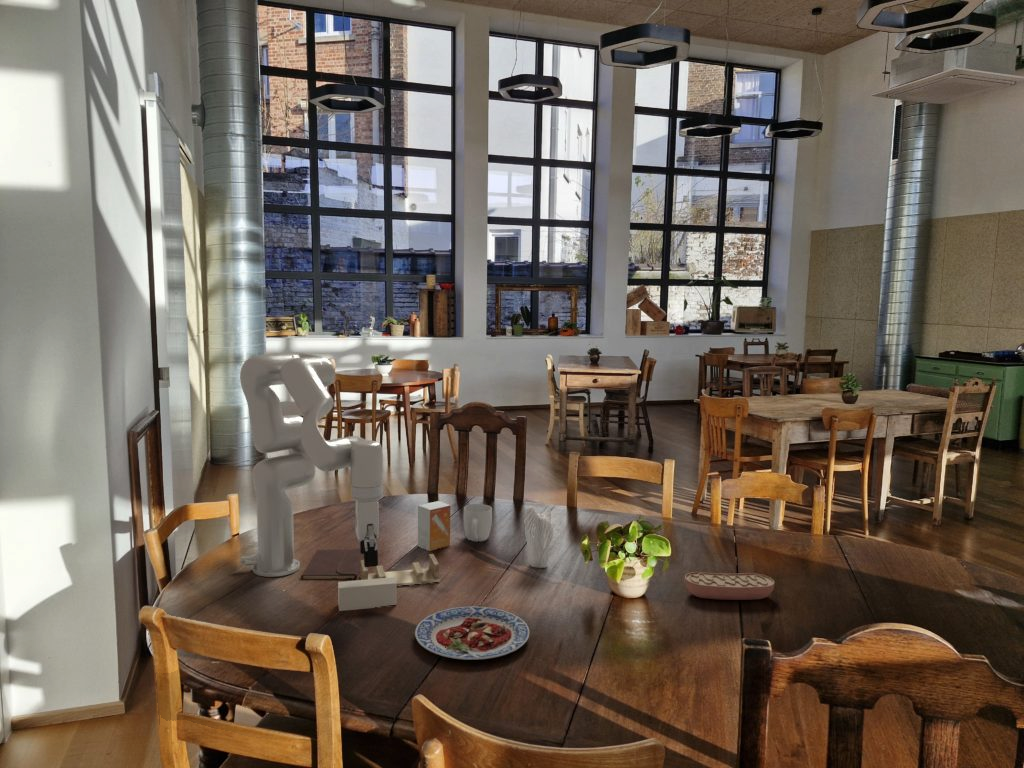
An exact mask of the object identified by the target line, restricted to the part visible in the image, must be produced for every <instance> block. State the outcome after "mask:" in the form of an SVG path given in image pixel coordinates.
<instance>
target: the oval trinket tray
mask: <svg viewBox="0 0 1024 768" xmlns="http://www.w3.org/2000/svg"><path fill="white" fill-rule="evenodd" d="M684 582H685V583H684V584H685V587H686V589H687V590H688V591H689V592H690V593H691V595H693V596H695V597H697V598H701V599H710V600H720V601H721V600H722V601H723V600H726V601H727V600H728V601H730V600H731V601H750V600H762V599H765V598H767V597H769V596H770V595H771V593H772V592H773V590H774V588H775V581H774V579H773V578H772V577H770V576H767V575H766V574H763V573H762V574H760V573H757V572H756V573H755V572H753V573H752V572H748V573H747V572H742V573H722V572H720V573H717V572H701V571H692V572H688V573H686V575H685V576H684Z"/></svg>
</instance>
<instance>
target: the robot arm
mask: <svg viewBox="0 0 1024 768" xmlns="http://www.w3.org/2000/svg"><path fill="white" fill-rule="evenodd" d="M239 374H240V375H239V380H240V381H239V382H240V386H241V390H242V392H243V395H244V397H245V400H246V402H247V407H248V409H247V410H248V415H249V423H250V429H251V436H252V441H253V446H254V449H256V451H258V452H259V453H262V454H269V453H270V454H271V453H277V452H282V451H288V454H285V455H278V456H274V457H273V456H272V457H269V458H265V459H262V460H261V461H258V462H257V463H256V464H255V465H254V467H252V471H251V478H252V483H253V488H254V494H255V502H256V518H257V519H256V521H257V522H256V523H257V524H256V525H257V526H256V527H257V528H256V530H257V531H256V533H257V551H256V554H253V555H252V556H241V557H240V563H241V564H240V565H243V564H245V566H246V567H247V566H252V573H253V574H254V575H256V576H259V577H264V578H265V577H266V578H276V577H283V576H287V575H291V574H293V573H296V572H297V571H298V570H299V569H300V567H301V563H300V561H299V560H298V559H296V558H295V543H294V542H295V540H294V537H295V536H294V506H293V503H292V501H291V499H290V498H289V497H288V495H287V493H286V491H288V490H292V489H295V488H300V487H304V486H307V485H309V484H310V483H312V482H313V481H314V479H315V475H316V468H317V469H318V470H320V471H322V472H328V473H329V472H333V471H338V470H342V469H348V468H350V474H351V475H350V476H351V479H350V480H351V483H350V484H351V486H350V487H351V499H352V500H353V501H355V534H356V538H357V541H359V546H360V547H359V549H360V552H361V554H364V566H365V567H367V568H371V567H376V566H379V556H378V555H379V553H378V551H379V550H378V545H377V540H378V539H379V538H380V515H379V514H380V509H379V500H381V499H383V498H384V485H383V484H384V482H383V481H384V480H383V478H384V477H383V476H384V475H383V472H384V471H383V446H382V444H381V443H380V442H379V441H376V440H369V439H368V440H367V439H365V438H364V437H360V436H358V435H357V436H356V435H350V436H346V437H339V438H334V439H333V438H332V439H328V440H326V439H325V437H324V436H323V434H322V433H321V430H320V429H319V425H318V422H319V421H320V420H321V419H322V418H324V417H325V416H327V415H328V414H329V413H330V412H331V410H332V409H333V408H334V405H335V404H334V403H335V400H334V399H333V397H332V395H331V394H330V392H329V390H328V389H327V388H328V387H329V386H331V385H332V384H333V382H334V381H335V377H336V371H335V367H334V365H333V363H332V362H331V361H330V360H329V359H328V358H326V357H325V356H322V355H316V354H309V353H304V352H283V353H266V354H257V355H253V356H251V357H250V358H247V359H246V360H245V361H244V362H243V364H242V366H241V369H240V372H239ZM278 385H284V387H285V388H286V390H287V391H288V393H289V394H290V396H291V398H292V399H293V401H294V403H295V404H296V407H297V408H298V410H299V411H300V413H301V414H302V416H301V415H298V414H288V415H283V412H282V411H283V410H282V405H281V404H282V403H281V400H280V398H279V396H278V395H277V393H276V392H275V391H274V390H273V389H272V388H271V386H278Z"/></svg>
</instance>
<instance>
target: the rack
mask: <svg viewBox="0 0 1024 768" xmlns="http://www.w3.org/2000/svg"><path fill="white" fill-rule="evenodd" d="M368 568H369V567H365V566H364V560H361V570H360V573H359V574H360V580H367V579H379V578H391V577H395V579H396V582H397V586H398V585H409V584H419V583H430V582H439V583H440V564H439V561H438V560H437V557H436V556H435V554H434V553H429V554H428V567H424V568H422V567H421V564H420V563H419V561H417V562H412V569H404V570H393V571H391V570H390V571H385V570H384V566H383V565H382V564H381V565H378V566H375V572H371V573H369V569H368ZM430 584H431V583H430ZM409 586H410V585H409Z"/></svg>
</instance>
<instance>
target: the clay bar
mask: <svg viewBox="0 0 1024 768" xmlns="http://www.w3.org/2000/svg"><path fill="white" fill-rule="evenodd" d="M337 588H338V589H337V590H338V591H337V595H338V596H337V597H338V598H337V600H338V601H337V602H338V604H337V606H338V611H339V612H343V611H354V610H365V609H375V607H377V608H382V607H381V606H387V605H395V604H397V605H398V603H397V602H398V598H397V596H398V594H397V591H398V589H397V588H398V587H397V582H396V579H395V577H391V578H379V579H367V580H361V579H354V580H346V581H343V580H342V581H338V582H337ZM387 607H388V606H387Z"/></svg>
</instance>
